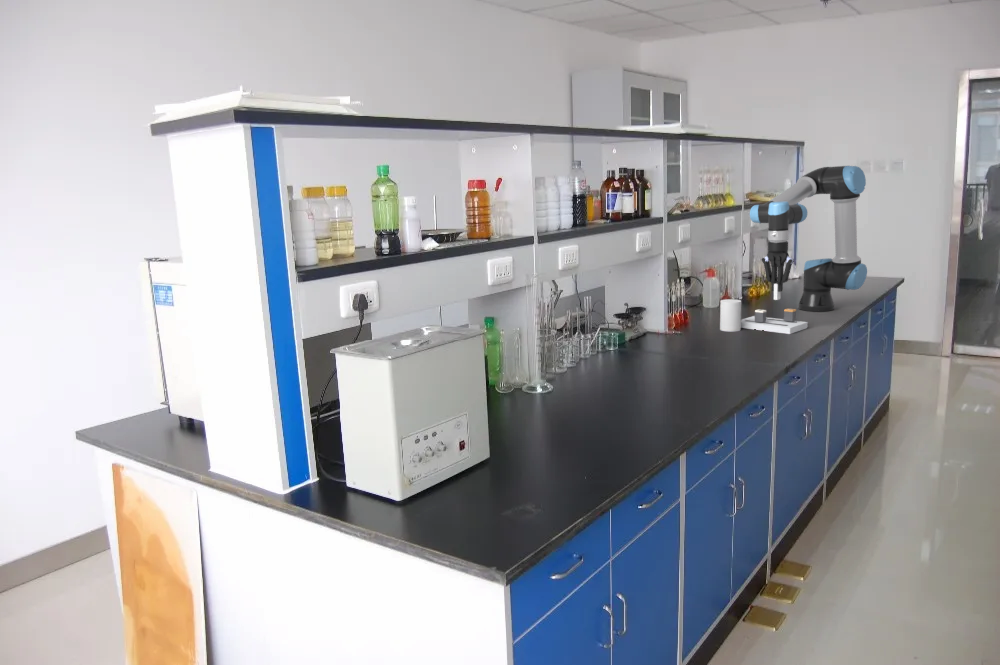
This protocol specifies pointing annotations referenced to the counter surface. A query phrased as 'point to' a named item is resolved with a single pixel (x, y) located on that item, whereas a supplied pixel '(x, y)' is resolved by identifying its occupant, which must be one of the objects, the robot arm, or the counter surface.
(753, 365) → the counter surface
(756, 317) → the fader cream
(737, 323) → the cup
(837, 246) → the robot arm
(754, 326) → the panel
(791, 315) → the fader orange
